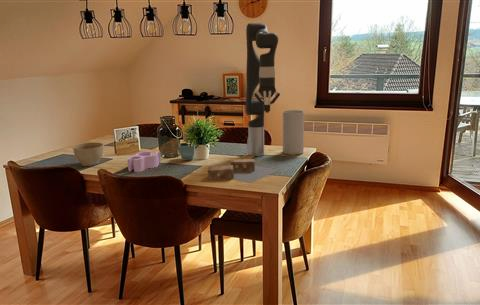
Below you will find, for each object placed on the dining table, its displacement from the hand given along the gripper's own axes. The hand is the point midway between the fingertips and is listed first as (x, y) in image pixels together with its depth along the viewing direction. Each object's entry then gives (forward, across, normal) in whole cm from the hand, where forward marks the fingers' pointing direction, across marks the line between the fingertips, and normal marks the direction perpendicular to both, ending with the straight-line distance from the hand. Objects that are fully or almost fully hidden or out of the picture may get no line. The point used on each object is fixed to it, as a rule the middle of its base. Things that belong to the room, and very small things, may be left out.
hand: (267, 112), depth 192 cm
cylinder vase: (+31, +17, +42) cm, 55 cm away
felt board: (+31, -8, -2) cm, 32 cm away
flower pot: (+31, -45, +29) cm, 62 cm away
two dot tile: (+28, -7, +4) cm, 29 cm away
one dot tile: (+28, -17, -8) cm, 33 cm away
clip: (+31, -67, +14) cm, 75 cm away
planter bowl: (+31, -100, +21) cm, 107 cm away
